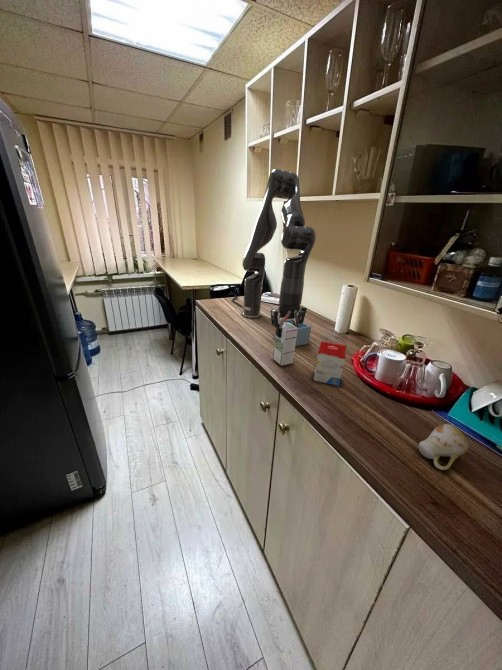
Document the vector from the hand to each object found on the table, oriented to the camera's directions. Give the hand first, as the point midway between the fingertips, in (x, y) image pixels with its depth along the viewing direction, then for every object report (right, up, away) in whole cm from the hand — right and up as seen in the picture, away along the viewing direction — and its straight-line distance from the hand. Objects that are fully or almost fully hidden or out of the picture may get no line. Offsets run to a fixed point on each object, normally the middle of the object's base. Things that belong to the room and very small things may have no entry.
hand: (285, 335), depth 98 cm
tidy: (+6, -2, +23) cm, 24 cm away
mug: (+32, -29, -33) cm, 54 cm away
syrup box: (-1, -10, +4) cm, 11 cm away
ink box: (+13, -15, -5) cm, 21 cm away
